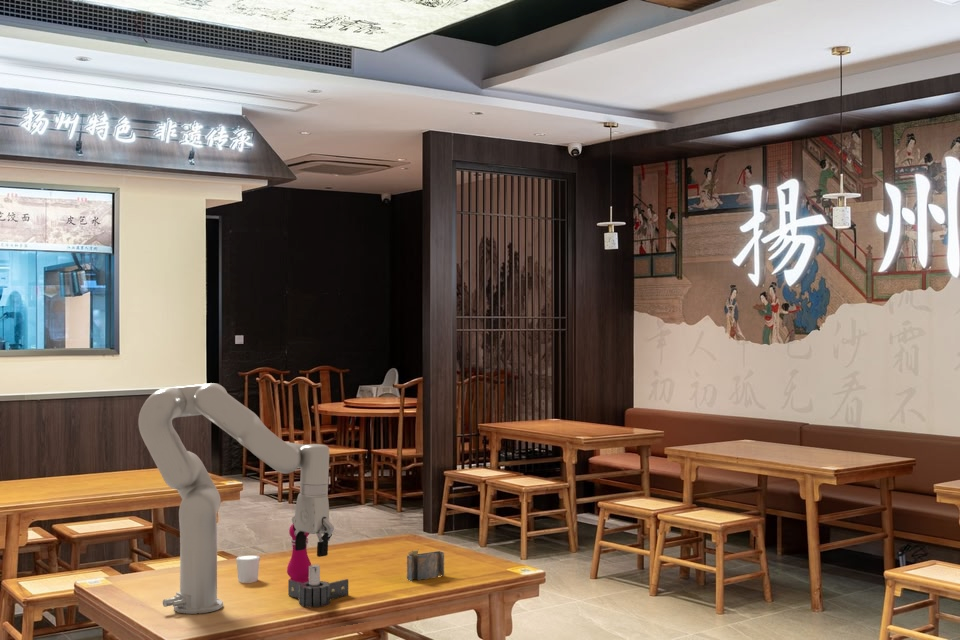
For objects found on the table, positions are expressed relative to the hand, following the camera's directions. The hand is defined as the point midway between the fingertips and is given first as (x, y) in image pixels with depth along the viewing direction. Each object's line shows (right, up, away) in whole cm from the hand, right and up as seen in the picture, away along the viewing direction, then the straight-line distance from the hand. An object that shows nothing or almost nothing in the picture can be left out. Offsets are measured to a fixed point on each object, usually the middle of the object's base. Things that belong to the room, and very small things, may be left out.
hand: (311, 552), depth 264 cm
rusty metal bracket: (+30, -15, +27) cm, 43 cm away
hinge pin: (+1, -14, 0) cm, 14 cm away
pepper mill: (-7, -14, +19) cm, 25 cm away
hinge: (+1, -14, +5) cm, 15 cm away
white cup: (-23, -15, +25) cm, 37 cm away
